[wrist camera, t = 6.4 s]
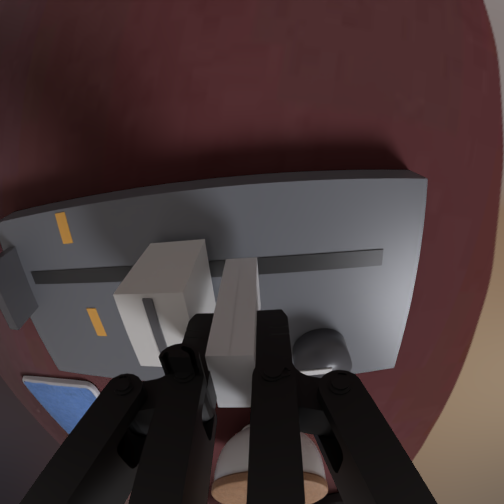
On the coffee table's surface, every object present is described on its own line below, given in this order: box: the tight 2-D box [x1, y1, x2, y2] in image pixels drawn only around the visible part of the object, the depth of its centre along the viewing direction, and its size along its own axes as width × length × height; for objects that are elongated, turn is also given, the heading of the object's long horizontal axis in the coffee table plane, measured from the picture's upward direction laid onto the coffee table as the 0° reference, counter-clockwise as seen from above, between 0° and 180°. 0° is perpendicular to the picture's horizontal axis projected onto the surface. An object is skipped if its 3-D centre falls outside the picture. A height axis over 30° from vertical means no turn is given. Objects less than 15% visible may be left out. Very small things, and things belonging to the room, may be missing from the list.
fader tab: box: [113, 239, 216, 367], centre depth 14 cm, size 4×3×5 cm
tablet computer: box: [22, 375, 100, 434], centre depth 30 cm, size 19×13×1 cm, turn 11°
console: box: [0, 170, 428, 381], centre depth 18 cm, size 14×28×5 cm, turn 95°
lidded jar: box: [211, 424, 328, 504], centre depth 24 cm, size 11×11×9 cm
